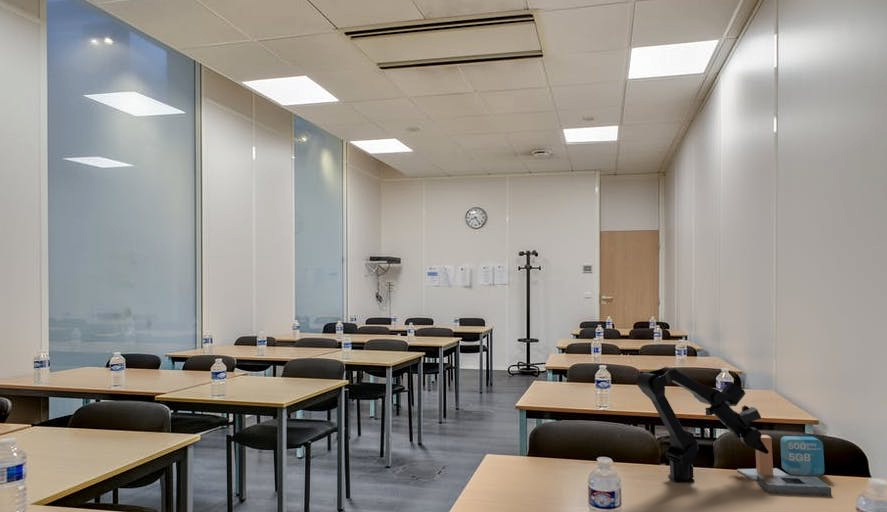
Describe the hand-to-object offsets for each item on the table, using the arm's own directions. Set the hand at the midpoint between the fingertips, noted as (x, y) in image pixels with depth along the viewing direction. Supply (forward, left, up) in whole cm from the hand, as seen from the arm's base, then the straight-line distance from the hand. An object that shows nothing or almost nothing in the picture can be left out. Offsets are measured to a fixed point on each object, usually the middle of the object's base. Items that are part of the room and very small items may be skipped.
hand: (763, 449), depth 201 cm
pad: (0, 0, -9) cm, 9 cm away
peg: (0, 0, -8) cm, 8 cm away
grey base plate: (+1, -14, -9) cm, 17 cm away
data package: (+14, +1, -9) cm, 17 cm away
